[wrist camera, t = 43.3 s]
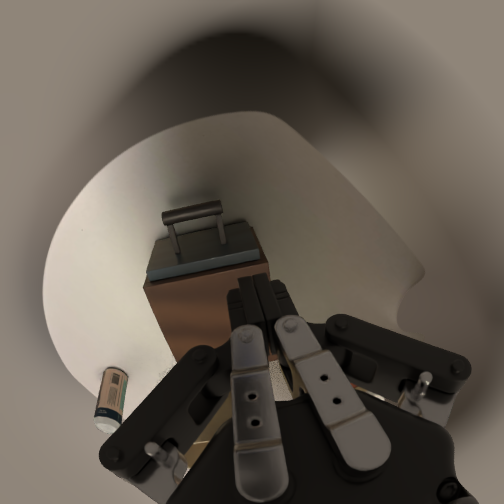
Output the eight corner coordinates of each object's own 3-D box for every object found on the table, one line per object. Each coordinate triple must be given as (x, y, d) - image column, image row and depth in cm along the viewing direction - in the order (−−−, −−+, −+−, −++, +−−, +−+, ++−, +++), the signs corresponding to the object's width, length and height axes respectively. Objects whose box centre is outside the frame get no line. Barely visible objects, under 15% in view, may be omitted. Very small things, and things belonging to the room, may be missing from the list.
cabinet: (154, 247, 34) (142, 287, 26) (252, 226, 35) (268, 262, 27) (185, 331, 41) (184, 377, 33) (265, 315, 42) (280, 359, 34)
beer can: (99, 368, 43) (86, 422, 32) (118, 364, 43) (108, 420, 32) (113, 383, 45) (105, 435, 34) (133, 380, 45) (126, 434, 34)
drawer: (144, 204, 31) (130, 228, 24) (241, 183, 32) (252, 202, 25) (184, 323, 39) (183, 360, 33) (261, 308, 40) (272, 343, 34)
